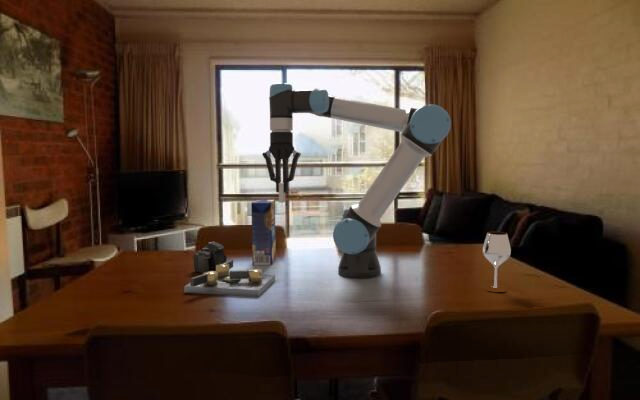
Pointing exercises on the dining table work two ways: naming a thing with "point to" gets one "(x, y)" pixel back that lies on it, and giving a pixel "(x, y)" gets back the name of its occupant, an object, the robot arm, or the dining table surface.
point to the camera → (209, 257)
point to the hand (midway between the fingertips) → (282, 202)
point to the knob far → (224, 268)
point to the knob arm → (247, 275)
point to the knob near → (205, 279)
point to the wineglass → (496, 250)
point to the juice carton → (263, 232)
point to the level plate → (233, 286)
